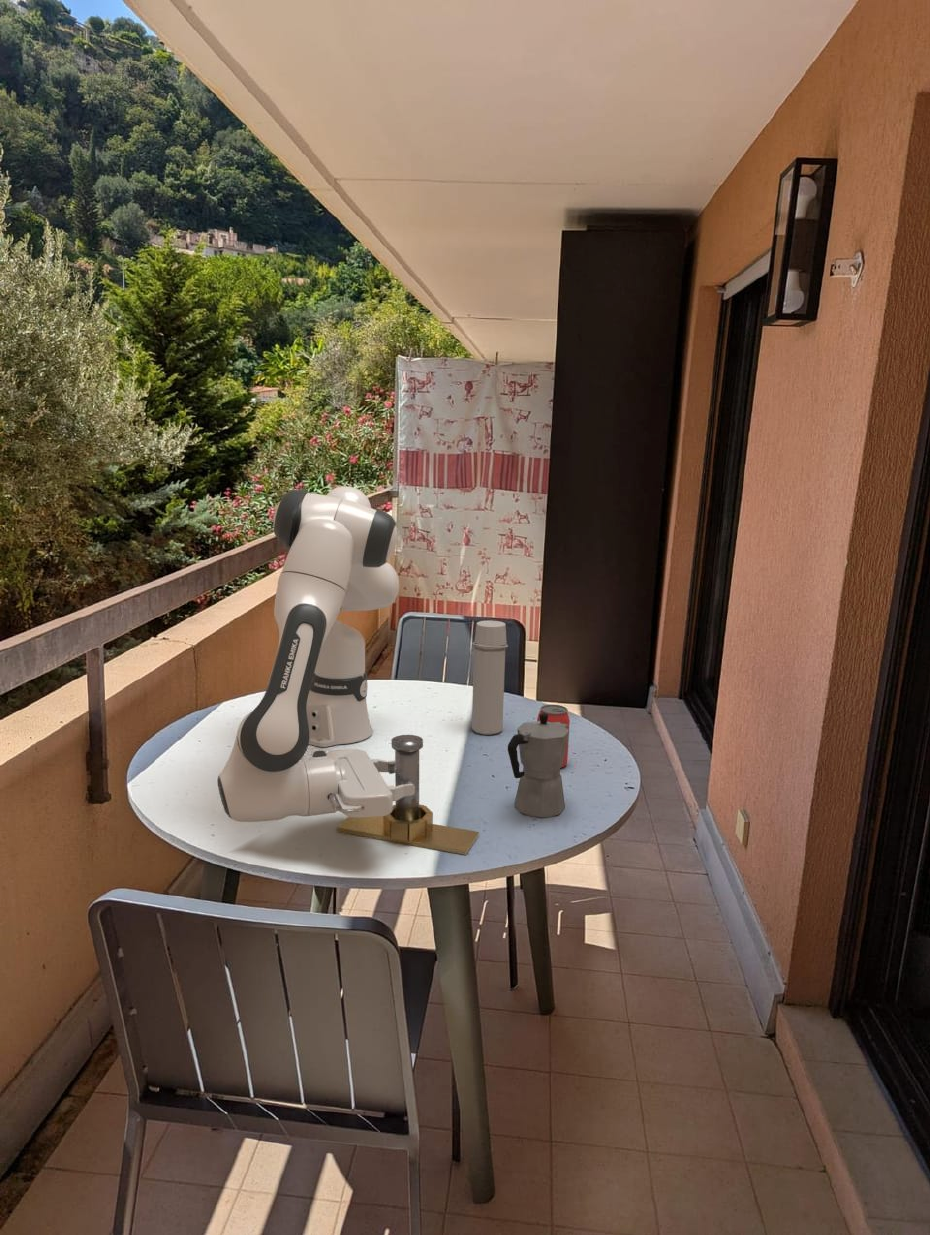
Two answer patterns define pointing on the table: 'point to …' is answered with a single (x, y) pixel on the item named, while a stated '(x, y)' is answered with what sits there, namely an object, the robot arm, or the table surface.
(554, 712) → the beer can
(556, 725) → the coffeepot
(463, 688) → the table surface
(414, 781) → the pin
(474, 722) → the water bottle
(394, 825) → the octagonal peg holder board
